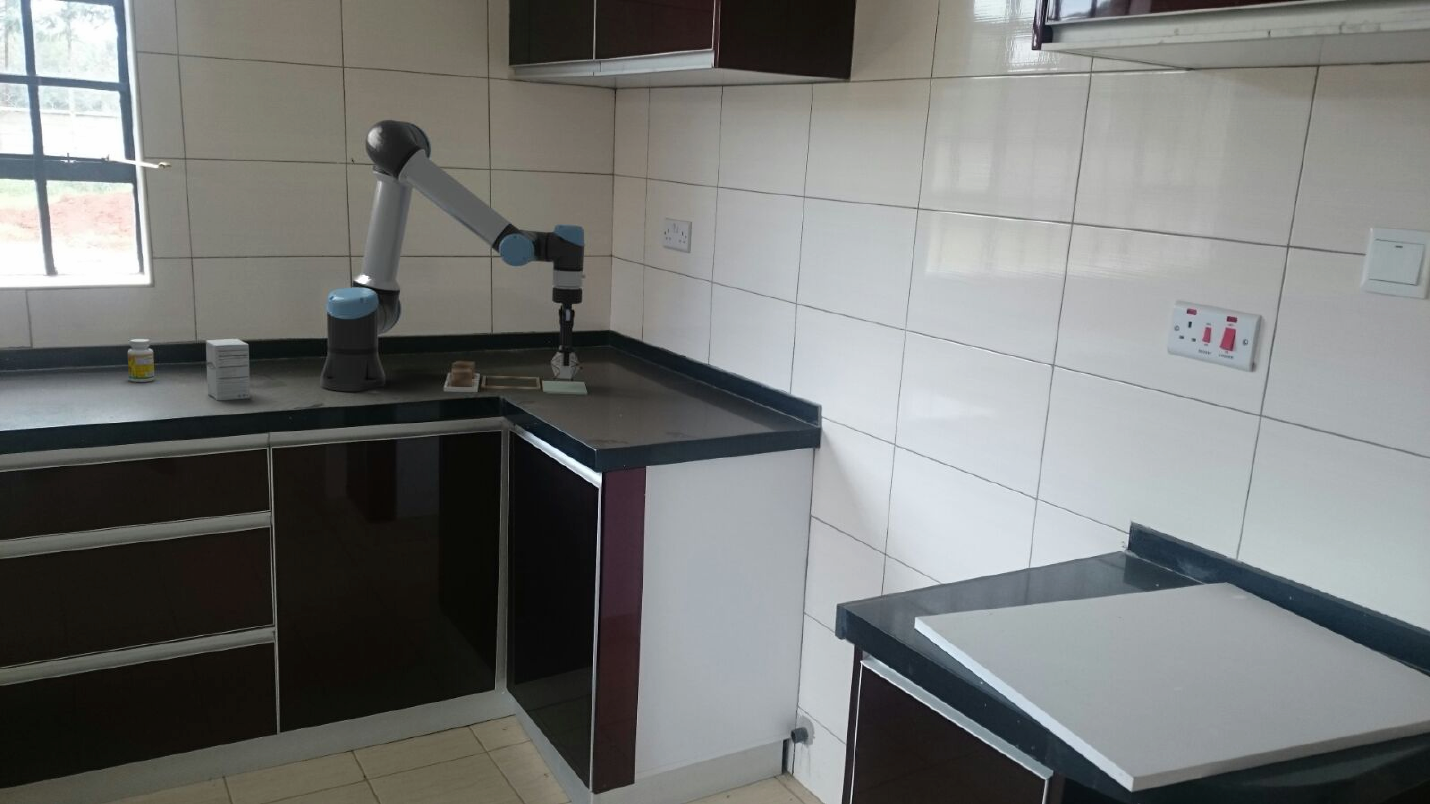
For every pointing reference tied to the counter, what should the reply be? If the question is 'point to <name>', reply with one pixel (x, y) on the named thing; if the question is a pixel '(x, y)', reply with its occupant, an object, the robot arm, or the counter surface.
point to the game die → (556, 365)
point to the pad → (564, 387)
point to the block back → (465, 366)
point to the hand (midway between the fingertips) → (564, 374)
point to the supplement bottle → (140, 361)
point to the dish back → (477, 378)
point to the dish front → (461, 389)
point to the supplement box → (228, 369)
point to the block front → (461, 378)
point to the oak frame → (511, 387)
